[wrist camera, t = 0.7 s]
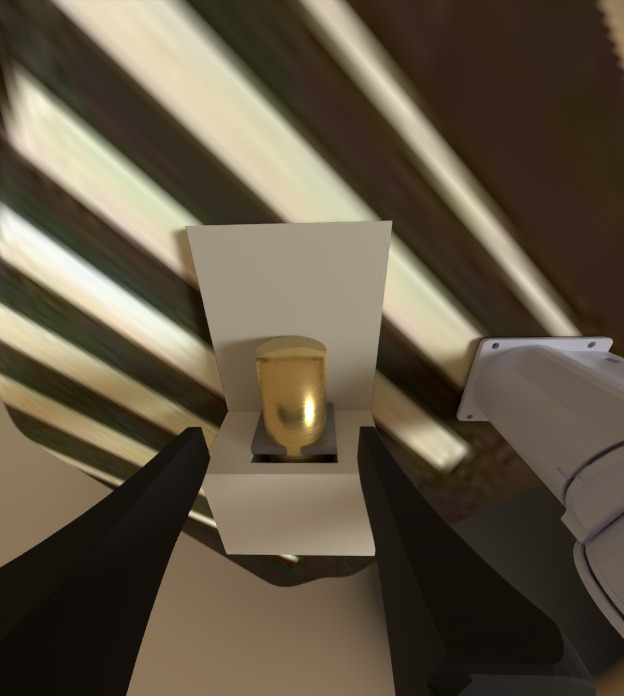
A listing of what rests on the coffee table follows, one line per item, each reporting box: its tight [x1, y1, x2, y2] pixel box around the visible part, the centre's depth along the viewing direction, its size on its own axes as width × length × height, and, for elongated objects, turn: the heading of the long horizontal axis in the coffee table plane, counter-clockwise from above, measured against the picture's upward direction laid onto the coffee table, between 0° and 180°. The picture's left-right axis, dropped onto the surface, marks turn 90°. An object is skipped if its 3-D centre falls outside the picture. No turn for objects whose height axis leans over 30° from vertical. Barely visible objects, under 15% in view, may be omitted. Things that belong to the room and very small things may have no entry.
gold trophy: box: [251, 336, 337, 463], centre depth 18 cm, size 6×14×4 cm, turn 1°
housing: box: [185, 221, 392, 556], centre depth 17 cm, size 12×24×7 cm, turn 1°
